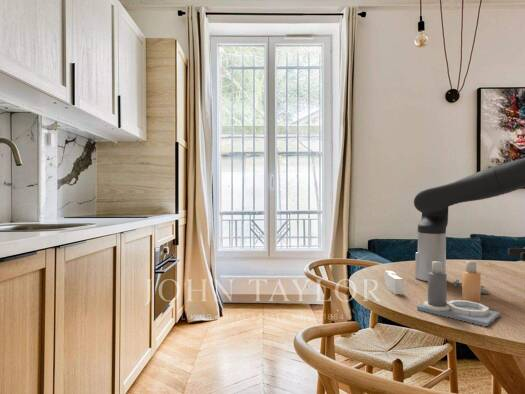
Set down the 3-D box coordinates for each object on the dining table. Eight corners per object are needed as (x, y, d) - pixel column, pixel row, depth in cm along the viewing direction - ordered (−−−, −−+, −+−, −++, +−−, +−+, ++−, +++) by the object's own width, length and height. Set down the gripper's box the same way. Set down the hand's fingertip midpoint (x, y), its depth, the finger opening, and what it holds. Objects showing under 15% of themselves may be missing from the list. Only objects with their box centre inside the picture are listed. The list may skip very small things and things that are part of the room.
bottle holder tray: (416, 310, 90) (416, 261, 90) (433, 301, 97) (433, 256, 97) (486, 327, 78) (486, 271, 78) (499, 316, 85) (499, 264, 85)
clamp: (487, 291, 101) (450, 286, 107) (487, 299, 101) (450, 293, 107) (489, 281, 113) (455, 277, 119) (489, 288, 113) (455, 283, 119)
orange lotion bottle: (459, 303, 95) (460, 261, 95) (465, 300, 98) (465, 259, 98) (477, 307, 92) (477, 263, 92) (482, 304, 95) (482, 261, 95)
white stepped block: (406, 299, 101) (406, 280, 101) (369, 292, 108) (369, 275, 108) (418, 288, 113) (418, 271, 113) (384, 283, 120) (384, 267, 120)
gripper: (572, 239, 93) (504, 237, 98) (606, 245, 80) (525, 243, 85) (573, 266, 93) (504, 263, 98) (607, 277, 80) (526, 273, 85)
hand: (514, 254), depth 92 cm, fingers open, 8 cm apart
